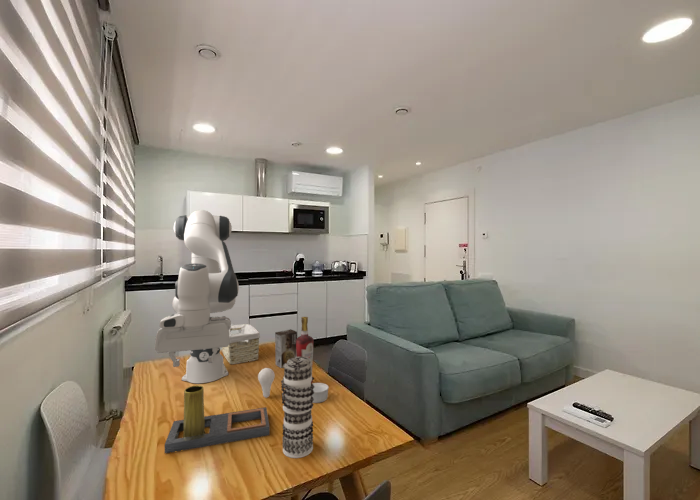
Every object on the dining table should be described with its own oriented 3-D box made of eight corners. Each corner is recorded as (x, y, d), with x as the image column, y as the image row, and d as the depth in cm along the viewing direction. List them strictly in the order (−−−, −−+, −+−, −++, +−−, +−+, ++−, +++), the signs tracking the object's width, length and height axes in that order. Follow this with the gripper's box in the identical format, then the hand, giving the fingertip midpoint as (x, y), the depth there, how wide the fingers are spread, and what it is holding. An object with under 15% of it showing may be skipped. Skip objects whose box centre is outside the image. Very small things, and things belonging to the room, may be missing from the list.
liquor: (305, 379, 140) (305, 314, 140) (317, 384, 135) (317, 317, 136) (292, 385, 135) (292, 317, 135) (303, 389, 130) (303, 319, 130)
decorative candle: (283, 439, 95) (283, 354, 95) (315, 438, 96) (314, 353, 96) (278, 459, 86) (278, 365, 86) (313, 458, 87) (313, 364, 87)
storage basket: (261, 360, 165) (261, 331, 165) (227, 366, 157) (227, 336, 157) (249, 348, 186) (249, 323, 186) (219, 353, 178) (219, 326, 178)
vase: (184, 445, 93) (184, 395, 93) (180, 435, 98) (180, 387, 98) (207, 437, 96) (207, 389, 97) (202, 428, 101) (202, 383, 102)
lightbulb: (270, 401, 120) (270, 371, 120) (255, 400, 121) (255, 370, 121) (277, 394, 126) (277, 366, 126) (262, 393, 127) (262, 365, 127)
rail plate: (173, 429, 101) (173, 420, 101) (266, 414, 110) (266, 406, 110) (164, 453, 89) (164, 443, 89) (269, 435, 98) (269, 425, 98)
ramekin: (300, 398, 123) (300, 386, 123) (319, 391, 129) (319, 380, 129) (313, 406, 116) (313, 394, 116) (333, 399, 122) (333, 387, 122)
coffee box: (291, 360, 165) (291, 329, 165) (297, 364, 160) (297, 331, 160) (274, 364, 159) (274, 331, 159) (281, 368, 154) (281, 334, 154)
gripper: (231, 313, 104) (231, 357, 104) (158, 318, 97) (158, 364, 97) (230, 317, 98) (230, 363, 98) (153, 322, 91) (153, 372, 91)
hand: (194, 364), depth 97 cm, fingers open, 8 cm apart
